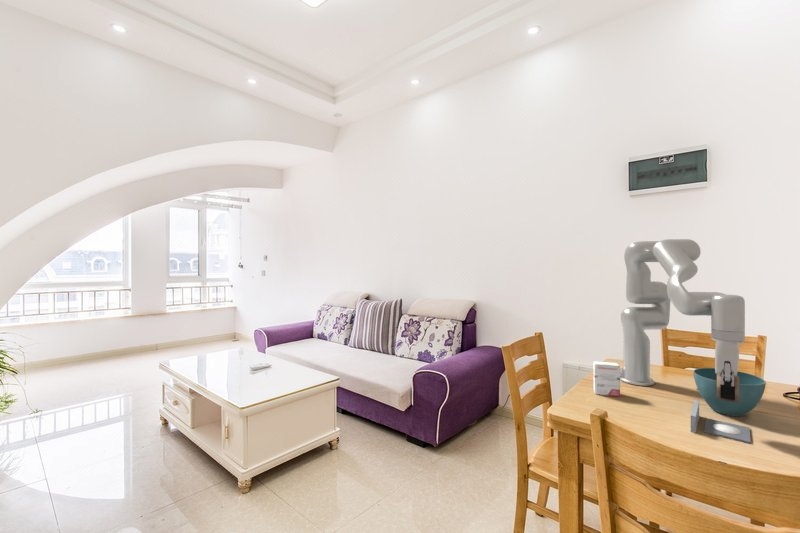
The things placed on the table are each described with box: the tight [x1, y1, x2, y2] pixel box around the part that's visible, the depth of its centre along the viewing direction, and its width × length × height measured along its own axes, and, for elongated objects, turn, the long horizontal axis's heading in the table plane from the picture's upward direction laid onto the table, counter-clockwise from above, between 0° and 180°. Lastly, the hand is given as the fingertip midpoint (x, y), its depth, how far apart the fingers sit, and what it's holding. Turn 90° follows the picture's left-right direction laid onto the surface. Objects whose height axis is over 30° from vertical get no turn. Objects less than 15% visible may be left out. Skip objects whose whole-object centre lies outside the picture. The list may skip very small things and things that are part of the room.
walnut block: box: [717, 373, 739, 402], centre depth 110 cm, size 5×5×7 cm
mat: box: [704, 417, 752, 444], centre depth 110 cm, size 10×12×1 cm
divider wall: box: [690, 399, 700, 434], centre depth 115 cm, size 1×16×5 cm, turn 138°
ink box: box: [592, 361, 621, 397], centre depth 142 cm, size 9×5×12 cm, turn 71°
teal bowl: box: [693, 367, 767, 417], centre depth 124 cm, size 18×18×12 cm
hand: (727, 395), depth 110 cm, fingers closed on walnut block, 5 cm apart
